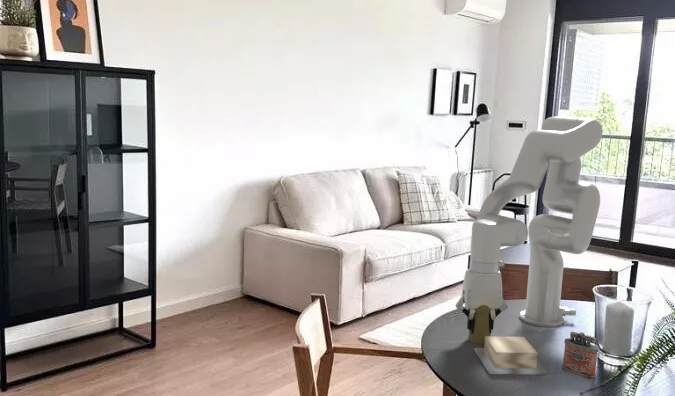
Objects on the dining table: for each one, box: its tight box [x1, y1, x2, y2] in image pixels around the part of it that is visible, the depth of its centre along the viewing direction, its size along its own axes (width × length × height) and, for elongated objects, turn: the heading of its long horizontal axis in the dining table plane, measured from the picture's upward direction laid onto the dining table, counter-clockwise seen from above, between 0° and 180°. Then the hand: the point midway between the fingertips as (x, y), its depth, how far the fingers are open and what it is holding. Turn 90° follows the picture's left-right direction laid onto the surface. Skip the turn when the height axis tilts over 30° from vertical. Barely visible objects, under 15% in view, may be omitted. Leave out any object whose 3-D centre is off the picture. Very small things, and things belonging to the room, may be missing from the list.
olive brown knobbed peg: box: [467, 305, 492, 345], centre depth 170 cm, size 6×6×11 cm
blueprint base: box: [473, 335, 548, 376], centre depth 157 cm, size 14×14×5 cm
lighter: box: [561, 331, 599, 381], centre depth 151 cm, size 8×3×10 cm, turn 44°
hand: (479, 331), depth 170 cm, fingers closed on olive brown knobbed peg, 4 cm apart
